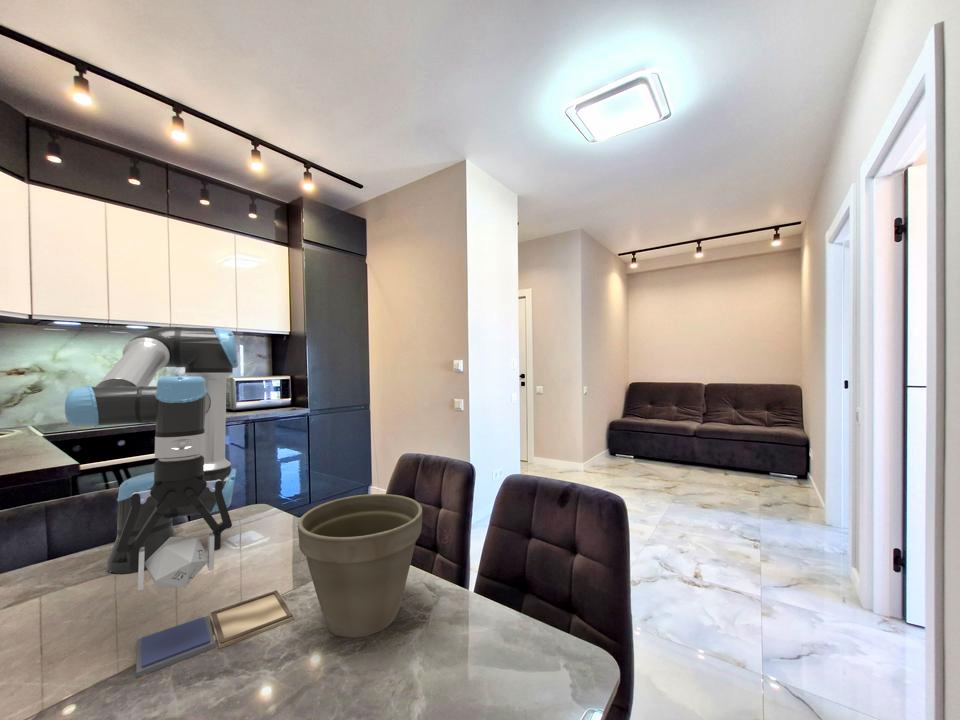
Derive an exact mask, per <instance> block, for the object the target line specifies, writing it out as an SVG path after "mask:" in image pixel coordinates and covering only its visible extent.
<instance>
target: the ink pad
mask: <svg viewBox="0 0 960 720" xmlns="http://www.w3.org/2000/svg"><path fill="white" fill-rule="evenodd" d="M209 619H210V618H209V616H208V615H206V616H202V617H198V618H196V619H193V620H190V621H187V622H184V623H181V624H178V625H175V626H172V627H170V628H166V629H164V630H160V631H158V632H154V633H151V634H148V635H145V636H143V637H140V638H137V639H136V650H135V651H136V657H135V658H136V659H135V660H136V661H135V665H136V666H135V668H136V669H135V673H136V674H135V677H136V678H140V677H142V676H145V675H148V674H150V673H153V672H155V671H158V670H160V669H163V668H165V667H168V666H171V665H174V664H176V663H179V662H181V661H183V660H186V659H190V658H191V657H193V656H196V655H199V654H202V653H205V652H207V651H210V650H212V649H214V648H216V640H215V637H214V632H213V631H212V630H213V629H212V626H211V622H210V620H209Z"/></svg>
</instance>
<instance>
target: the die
mask: <svg viewBox="0 0 960 720" xmlns="http://www.w3.org/2000/svg"><path fill="white" fill-rule="evenodd" d="M208 561H209V559H208V554H207V553H206V550H205V547H204V546H203V545H202V543H201V540H200V538H199V536H177V537H170V538H169V539H168V540H167V541H166V542H165V543H164V544H163V545H162V546H161V547H160V548H159V549H158V550H157V551H156V552H155V553H154V554H153V555H152V556H151V557H150V558H149V559H148V560H147V561H146V562H144V565H145V567H146V568H147V569H146V570H147V572H148V574H149V577H150V578H151V580H152V582H153V585H154V586H155V588H157V589H165V588H167V589H169V588H170V589H171V588H172V589H173V588H179V589H180V588H186V587H187V586H188V585H189V584H190V583H191V582H192V580H193V579H194V578H195V577H196V576H197V575H198V573H200V571H201V570H202V569H203V568H204V567H205V565H207V562H208Z"/></svg>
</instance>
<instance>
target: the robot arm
mask: <svg viewBox="0 0 960 720" xmlns="http://www.w3.org/2000/svg"><path fill="white" fill-rule="evenodd" d="M235 338H236V337H235V334H234V332H233V331H232V330H230V329H224V328H216V327H189V326H187V327H185V326H184V327H183V326H163V327H158V328H154V329H151V330H148V331H145V332H143V333H141V334H139V335H136V336H135V337H133V338H132V339H131V340H129V341H128V342H127V344H126V345H125V346H124V347H123V349H122V356H121V358H120V359H119V360H118V361H117V362H116V363H115V364H114V365H113V367H112V368H111V369H110V370H109V371H108V373H106V375H105V376H104V377H103V378H102V380H100V382H98V384H97V385H96V386H91V385H87V386H84V387H83V386H82V387H75V388H72V389H71V390H70V391H69V392H68V393H67V396H66V398H65V402H64V415H65V419H66V421H67V423H69V424H70V425H72V426H75V427H91V426H92V427H101V426H114V425H115V426H116V425H117V426H118V425H130V424H131V425H132V424H135V425H136V424H151V423H153V424H155V436H154V457H155V458H156V459H157V460H156V461H155V462H154V470H153V471H152V472H147V473H143V474H139V475H136V476H132V477H129V478H128V479H126V480H124V481H122V482H121V484H120V486H119V487H118V495H117V498H116V501H117V516H116V517H117V518H116V519H117V522H116V523H117V524H116V526H117V528H116V529H117V530H116V539H115V541H114V544H113V546H112V548H111V551H110V553H109V555H108V558H107V561H106V571H107V570H108V572H109V571H111V572H115V573H114V574H128V573H130V574H131V573H135V572H138V574H137V575H138V576H137V591H142V590H144V583H145V570H147V568H146V567H145V565H144V562H146V561H147V560H148V559H149V558H150V557H151V556H152V555H153V554H154V553H155V552H156V551H157V550H158V549H159V548H160V547H161V546H162V545H163V544H164V543H165V542H166V541H167V540H168V539H169V538H170V537H178V536H177V534H176V531H175V530H174V527H173V524H174V523H173V518H174V519H175V518H181V517H182V518H183V517H187V516H194V515H200V516H201V517H202V519H203V520H204V522H206V524H207V525H208V527H209V528H210V529H211V531H209V532H207V557H208V559H209V561H208V562H207V563H206V565H207V566H206V567H207V569H208V571H213V570H215V569H214V568H215V551H218V550H220V549H221V547H222V541H221V540H222V533H223V532H224V531H225V530H227V529H231V528H232V527H233V524H232V519H231V517H230V513H229V511H228V508H229V507H230V506H231V504H232V499H233V491H234V486H235V481H236V475H237V469H236V468H234V467H233V468H232V467H231V466H232V462H230V461H229V460H228V459H226V426H227V425H226V423H227V380H228V378H229V377H230V376H231V375H233V373H234V372H233V370H234V369H235V368H238V367H239V359H238V352H237V351H238V350H237V343H236V339H235ZM163 368H184V370H185V371H184V374H185V375H186V376H183V375H182V376H162V377H160V378H158V380H157V382H156V383H157V384H156V385H155V386H153V385H150V383H151V382H152V381H153V379H154V377H155V376H156V374H157V372H158V371H159V370H162V369H163ZM149 385H150V386H149ZM214 512H215V513H216V512H219V515H220V518H221V521H222V522H220V523H218V522H217V521H216V519H215V518H214V517H213V515H212V513H214ZM111 572H110V573H111Z"/></svg>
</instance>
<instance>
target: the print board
mask: <svg viewBox="0 0 960 720" xmlns="http://www.w3.org/2000/svg"><path fill="white" fill-rule="evenodd" d="M209 619H210V621H211V622H210V624H211V625H212V626H211V627H212V630H213V634H214V635H215V639H216V640H215V641H216V643H217V647H218V649H219V650H220V649H223V648H225V647H228V646H230V645H233V644H236V643H238V642H241V641H243V640H246V639H248V638H251V637H253V636H256V635H259V634H261V633H264V632H266V631H269V630H271V629H274V628H277V627H279V626H281V625H284V624H287V623H289V622H292V621H294V620H295V616H294V614H293V612H292V611H291V610H290V608H289V607H288V605H287V603H286V602H285V600H284V598H283V597H282V595H281V594H280V592H279V591H278V590H273V591H269V592H267V593H264V594H261V595H258V596H255V597H252V598H249V599H246V600H243V601H240V602H237V603H234V604H231V605H228V606H225V607H222V608H219V609H217V610H213V611H211V612H210V613H209Z"/></svg>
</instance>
